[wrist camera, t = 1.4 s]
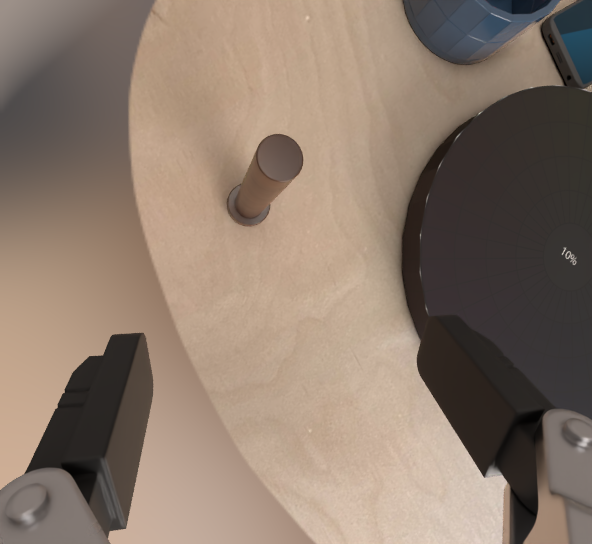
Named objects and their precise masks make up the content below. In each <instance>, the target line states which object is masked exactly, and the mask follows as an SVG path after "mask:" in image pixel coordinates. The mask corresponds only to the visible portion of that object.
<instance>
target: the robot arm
mask: <svg viewBox="0 0 592 544" xmlns="http://www.w3.org/2000/svg"><path fill="white" fill-rule="evenodd" d="M417 367H418V371H419V374H420V376H421V378H422V379H423V381H424V383H425V384H426V386H427V387H428V389H429V390H430V392H431V394H432V395H433V397H434V398H435V400H436V402H437V403H438V405H439V406H440V408H441V410H442V411H443V413H444V414H445V416H446V418H447V419H448V421H449V422H450V424H451V425H452V427H453V429H454V430H455V432H456V433H457V435H458V437H459V438H460V440H461V441H462V443H463V445H464V446H465V448H466V449H467V451H468V452H469V454H470V456H471V457H472V459H473V460H474V462H475V464H476V465H477V467H478V468H479V470H480V472H481V473H482V475H483V476H484V478H486V477H493V476H499V475H503V476H504V478H505V479H506V481H507V482H508V483H507V484H506V486H505V489H504V506H503V543H502V544H592V420H591V419H589V418H587V417H585V416H583V415H581V414H579V413H576V412H574V411H570V410H566V409H557V408H556V407H555V406H554V405H553V404H552V403H551V402H550V401H549V400H548V399H547V398H546V397H545V396H544V395H543V394H542V393H541V392H540V391H539V390H538V388H537V387H536V386H535V385H534V384H533V383H532V382H531V381H530V380H529V379H528V378H527V377H526V376H525V375H524V374H523V373H522V372H521V371H520V370H519V369H518V368H515V365H514V363H513V362H512V361H511V360H510V359H509V358H508V357H505V356H504V353H503V352H502V351H501V350H500V349H499V348H498V347H497V346H496V345H495V344H494V343H493V342H492V341H491V340H489V339H488V338H486V337H485V336H483V335H482V334H480V333H478V332H477V331H475V330H472V329H471V328H470V327H469V326H468V325H467V324H466V323H465V322H464V321H463V320H462V319H461V318H460V317H459V316H458V315H439V316H430V317H429V318H428V320H427V322H426V325H425V329H424V333H423V336H422V340H421V344H420V347H419V351H418V355H417ZM152 397H153V376H152V370H151V365H150V359H149V353H148V348H147V342H146V338H145V335H144V333H132V334H117V335H116V334H115V335H112V336H111V337H110V340H109V342H108V345H107V347H106V350H105V352H104V355H103V356H89V357H88V358H87V359H86V360H85V361H84V362H83V363H82V364H81V365H80V366H79V367H78V368H77V369H76V370H75V371H74V372H73V373H72V375H71V378H70V380H69V382H68V384H67V386H66V388H65V393H63V394H62V397H61V399H60V401H59V403H58V408H57V409H55V411H54V414H53V416H52V418H51V420H50V422H49V424H48V426H47V428H46V430H45V432H44V435H43V437H42V439H41V441H40V443H39V445H38V447H37V449H36V451H35V453H34V456H33V458H32V460H31V462H30V464H29V466H28V468H27V470H26V472H25V474H24V475H22V476H20V477H18V478H16V479H15V480H13V481H12V482H10V483H9V484H7V485H6V486H5V487H4V488H2V489H1V490H0V544H110V542H109V540H108V535H109V531H113V530H119V529H126V526H127V521H128V516H129V511H130V506H131V501H132V497H133V492H134V486H135V482H136V477H137V472H138V467H139V462H140V457H141V452H142V447H143V442H144V437H145V432H146V428H147V422H148V418H149V413H150V408H151V403H152Z"/></svg>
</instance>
